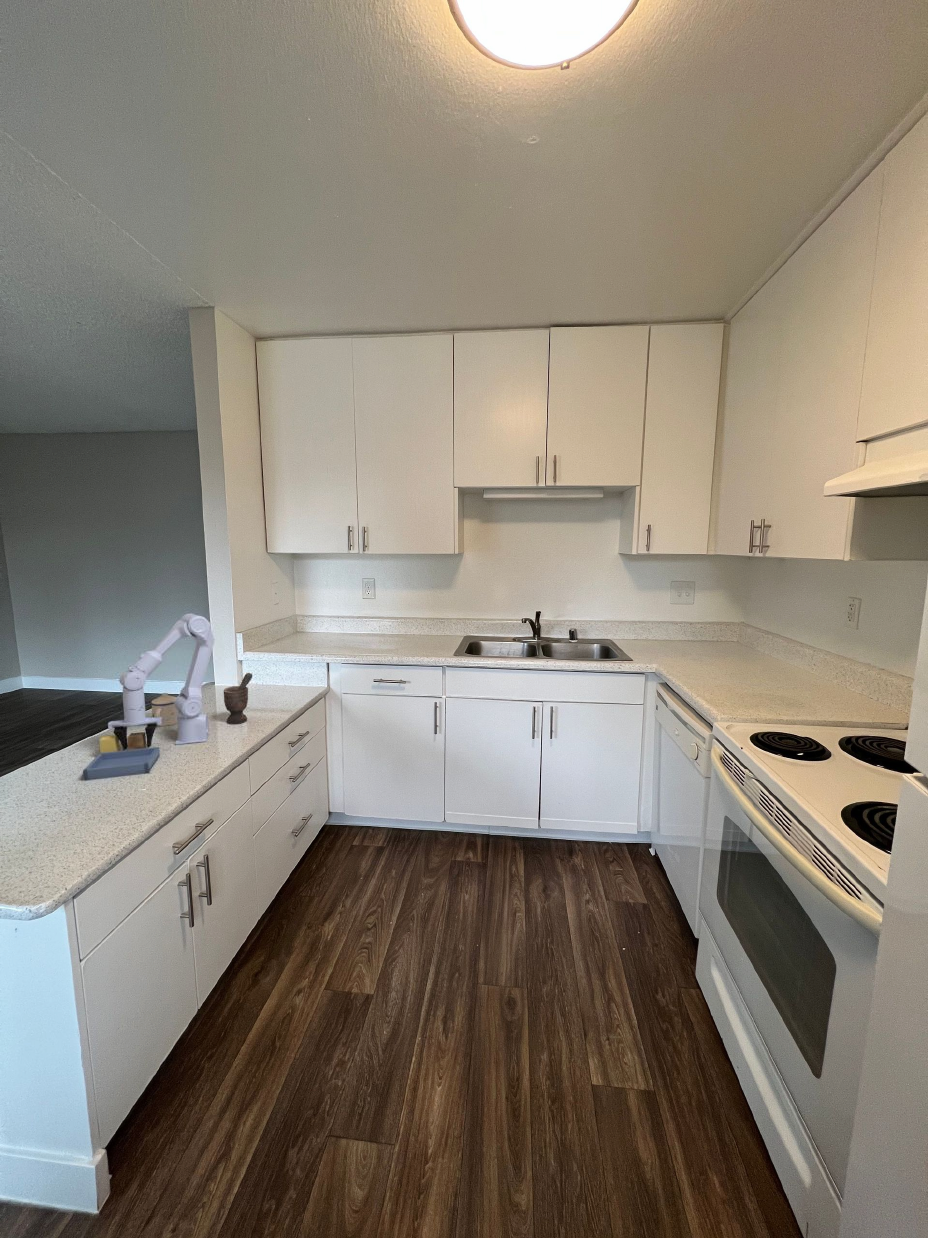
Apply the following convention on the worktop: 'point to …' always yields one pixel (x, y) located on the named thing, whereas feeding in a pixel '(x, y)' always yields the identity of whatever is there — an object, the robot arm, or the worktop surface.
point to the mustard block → (109, 743)
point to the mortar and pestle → (237, 700)
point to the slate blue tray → (121, 763)
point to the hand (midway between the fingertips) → (137, 747)
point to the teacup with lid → (165, 709)
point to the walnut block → (137, 741)
